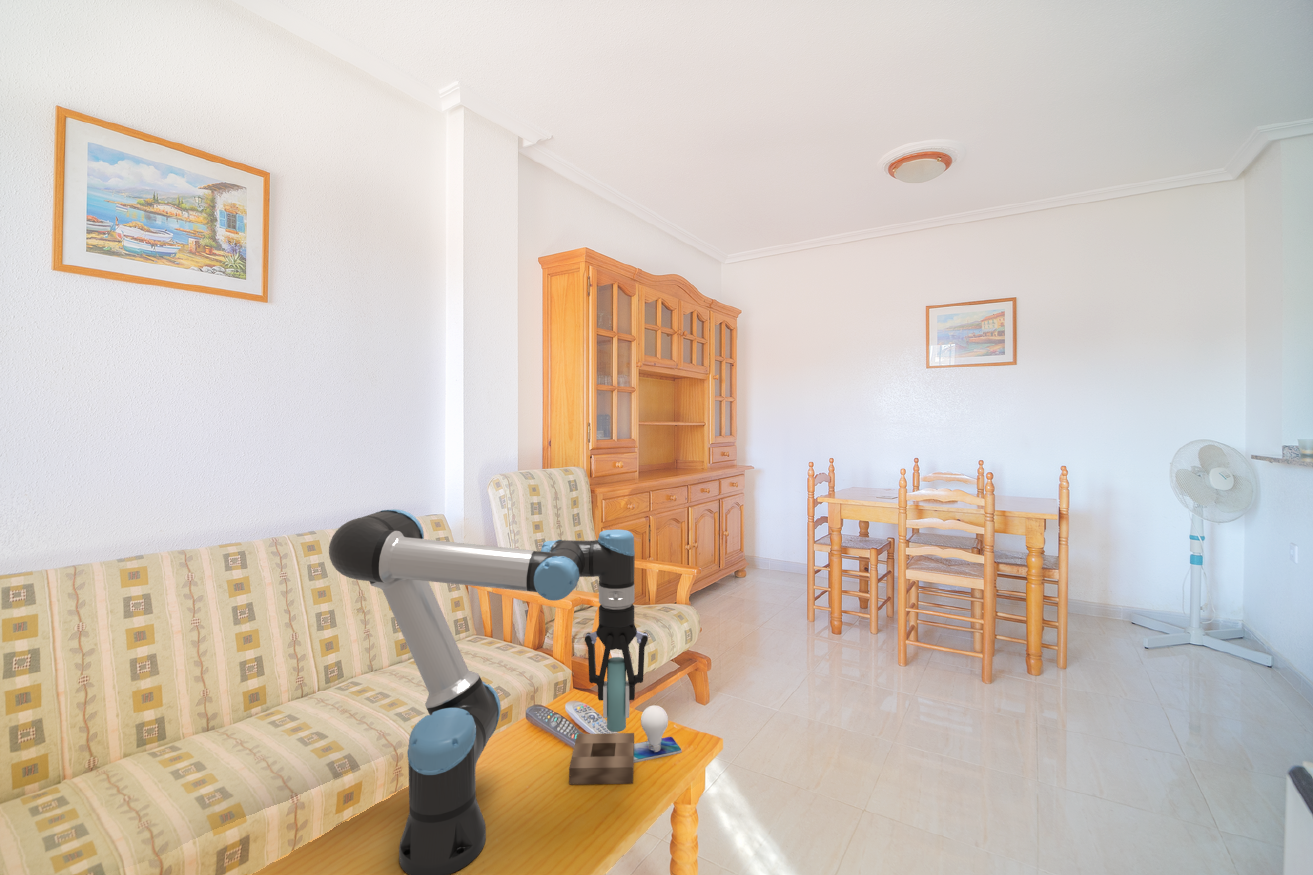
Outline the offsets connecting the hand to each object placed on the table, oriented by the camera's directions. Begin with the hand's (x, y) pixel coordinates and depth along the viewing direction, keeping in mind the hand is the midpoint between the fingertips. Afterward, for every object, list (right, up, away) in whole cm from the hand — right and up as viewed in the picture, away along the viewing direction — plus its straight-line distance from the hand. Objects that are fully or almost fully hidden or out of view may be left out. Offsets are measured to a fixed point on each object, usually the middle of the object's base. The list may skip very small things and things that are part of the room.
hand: (616, 714), depth 118 cm
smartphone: (+7, -18, +18) cm, 26 cm away
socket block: (-4, -18, +12) cm, 22 cm away
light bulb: (+8, -18, +17) cm, 26 cm away
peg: (0, -3, 0) cm, 3 cm away
